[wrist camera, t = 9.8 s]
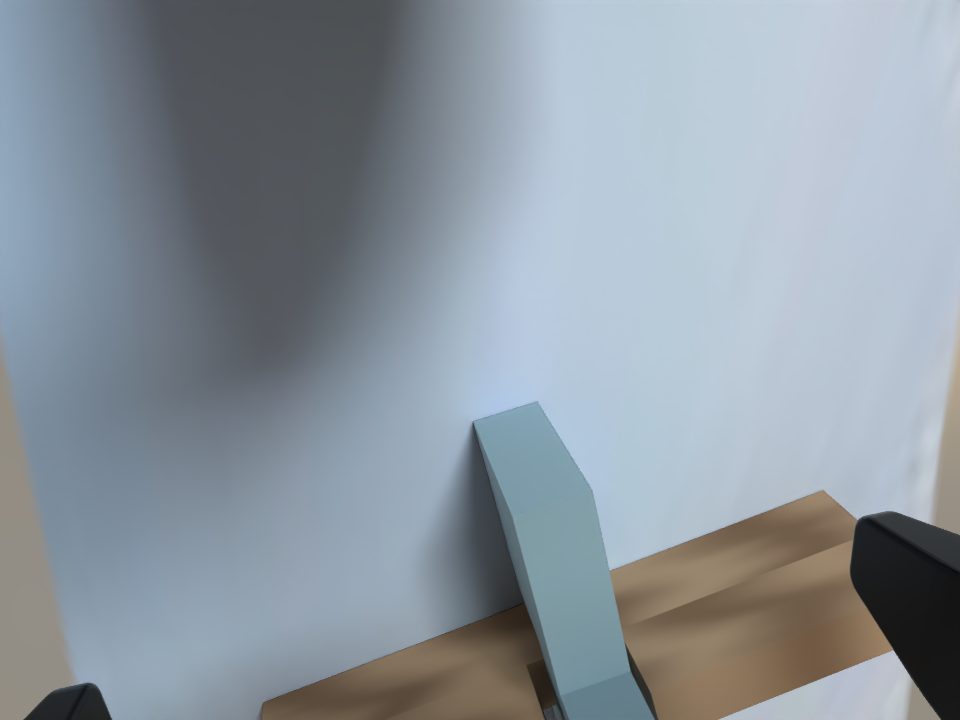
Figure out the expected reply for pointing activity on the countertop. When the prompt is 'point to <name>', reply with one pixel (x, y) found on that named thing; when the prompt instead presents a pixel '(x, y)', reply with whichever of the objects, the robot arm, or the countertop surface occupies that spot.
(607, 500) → the countertop surface
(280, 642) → the countertop surface
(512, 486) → the slate-blue slotted plate
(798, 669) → the walnut slotted board
